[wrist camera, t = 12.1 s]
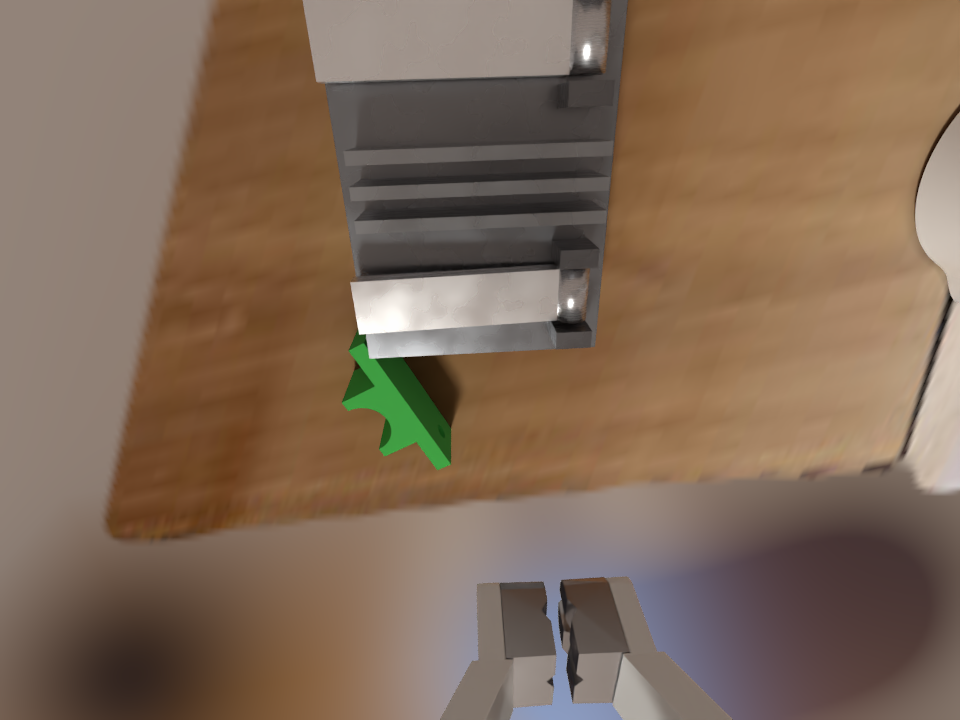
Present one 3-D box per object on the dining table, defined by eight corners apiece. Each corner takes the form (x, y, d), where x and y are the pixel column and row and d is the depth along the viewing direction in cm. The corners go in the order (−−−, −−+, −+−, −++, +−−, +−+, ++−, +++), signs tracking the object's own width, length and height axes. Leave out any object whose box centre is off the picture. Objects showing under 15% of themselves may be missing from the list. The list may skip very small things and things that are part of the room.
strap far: (584, 261, 26) (594, 270, 25) (580, 310, 28) (590, 322, 26) (353, 275, 25) (348, 286, 24) (361, 325, 27) (357, 339, 25)
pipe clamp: (330, 337, 33) (313, 368, 29) (374, 314, 33) (363, 342, 29) (411, 446, 38) (406, 485, 34) (451, 427, 37) (451, 465, 33)
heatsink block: (601, -43, 24) (664, -109, 17) (575, 316, 33) (609, 370, 26) (328, -36, 23) (275, -101, 16) (380, 326, 33) (361, 383, 26)
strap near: (604, -4, 21) (619, -14, 19) (598, 75, 22) (611, 72, 20) (308, 1, 20) (298, -9, 18) (321, 83, 21) (313, 81, 19)
